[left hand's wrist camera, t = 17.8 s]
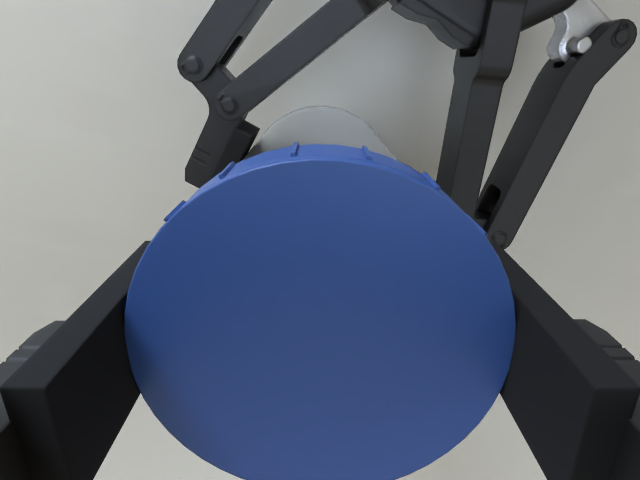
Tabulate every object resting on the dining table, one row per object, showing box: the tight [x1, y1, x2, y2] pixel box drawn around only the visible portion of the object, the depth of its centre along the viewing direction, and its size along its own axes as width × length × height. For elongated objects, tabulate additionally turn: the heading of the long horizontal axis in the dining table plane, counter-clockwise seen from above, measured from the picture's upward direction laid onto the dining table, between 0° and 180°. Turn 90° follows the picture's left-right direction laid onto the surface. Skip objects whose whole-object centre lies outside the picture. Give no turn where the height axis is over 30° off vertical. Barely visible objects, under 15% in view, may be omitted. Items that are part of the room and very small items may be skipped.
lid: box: [124, 142, 516, 480], centre depth 11 cm, size 9×9×2 cm
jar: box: [242, 106, 398, 161], centre depth 19 cm, size 8×8×16 cm
